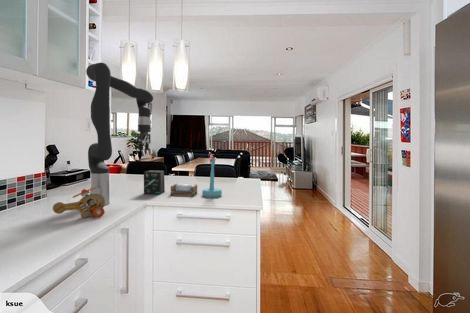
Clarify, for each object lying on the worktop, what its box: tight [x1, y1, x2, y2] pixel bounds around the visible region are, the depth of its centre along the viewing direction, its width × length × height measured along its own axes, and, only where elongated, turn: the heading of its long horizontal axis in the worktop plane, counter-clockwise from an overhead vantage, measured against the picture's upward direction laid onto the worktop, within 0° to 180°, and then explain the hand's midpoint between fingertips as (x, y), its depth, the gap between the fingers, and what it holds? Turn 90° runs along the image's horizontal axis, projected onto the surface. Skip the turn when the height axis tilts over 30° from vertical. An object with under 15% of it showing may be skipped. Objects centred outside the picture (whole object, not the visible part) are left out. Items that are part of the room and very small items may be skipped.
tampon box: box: [143, 170, 166, 195], centre depth 189 cm, size 11×9×15 cm
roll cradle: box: [170, 183, 198, 197], centre depth 187 cm, size 10×15×6 cm, turn 85°
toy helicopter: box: [52, 187, 106, 219], centre depth 129 cm, size 8×21×14 cm, turn 129°
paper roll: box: [176, 183, 193, 192], centre depth 187 cm, size 11×5×5 cm, turn 86°
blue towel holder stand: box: [201, 156, 223, 198], centre depth 183 cm, size 12×12×25 cm
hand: (144, 150), depth 179 cm, fingers open, 8 cm apart
